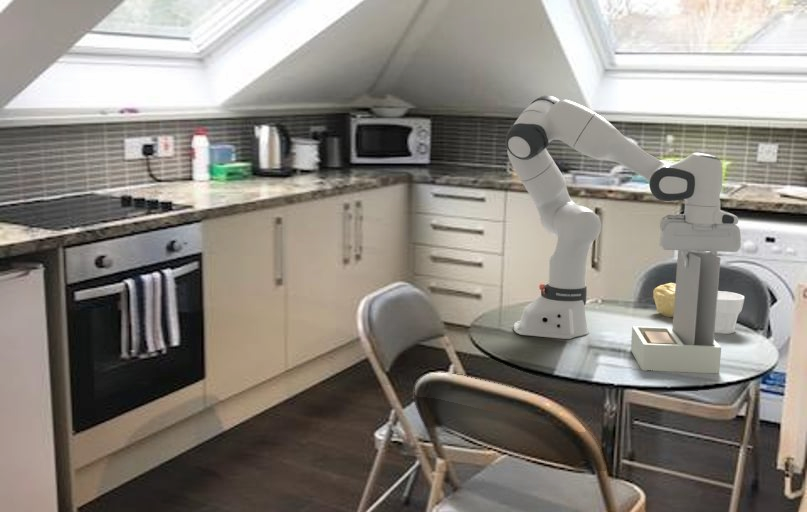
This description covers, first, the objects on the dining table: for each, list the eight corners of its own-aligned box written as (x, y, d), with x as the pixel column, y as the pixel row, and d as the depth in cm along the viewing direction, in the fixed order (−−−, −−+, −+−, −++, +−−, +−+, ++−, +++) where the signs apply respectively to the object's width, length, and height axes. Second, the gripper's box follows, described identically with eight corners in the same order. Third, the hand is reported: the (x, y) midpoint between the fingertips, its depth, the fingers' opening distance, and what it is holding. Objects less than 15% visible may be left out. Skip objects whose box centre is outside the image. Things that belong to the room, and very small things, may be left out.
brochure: (711, 370, 227) (720, 257, 222) (691, 370, 227) (699, 257, 221) (689, 354, 241) (698, 248, 236) (670, 354, 241) (678, 248, 235)
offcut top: (650, 355, 229) (651, 342, 229) (643, 343, 240) (644, 331, 239) (673, 356, 229) (674, 343, 228) (665, 344, 239) (666, 332, 239)
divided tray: (642, 370, 226) (643, 344, 225) (630, 350, 244) (632, 326, 243) (719, 373, 224) (721, 347, 223) (702, 352, 242) (704, 328, 241)
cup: (703, 322, 275) (706, 288, 273) (744, 328, 269) (748, 293, 267) (694, 331, 264) (697, 296, 262) (737, 337, 258) (740, 301, 256)
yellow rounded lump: (646, 312, 288) (648, 280, 286) (678, 310, 291) (680, 278, 289) (665, 320, 277) (667, 287, 275) (698, 318, 280) (700, 286, 278)
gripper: (663, 216, 225) (659, 268, 227) (744, 218, 223) (740, 270, 225) (658, 212, 231) (655, 263, 233) (737, 214, 229) (733, 266, 231)
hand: (697, 267), depth 229 cm, fingers closed on brochure, 4 cm apart
